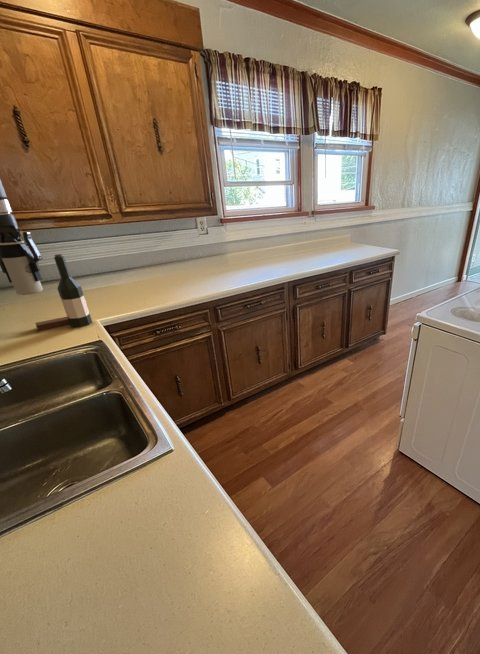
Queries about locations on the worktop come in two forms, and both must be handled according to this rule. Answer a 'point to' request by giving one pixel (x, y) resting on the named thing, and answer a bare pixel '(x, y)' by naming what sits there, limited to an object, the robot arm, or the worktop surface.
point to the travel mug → (19, 268)
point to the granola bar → (52, 323)
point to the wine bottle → (72, 296)
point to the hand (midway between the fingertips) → (26, 281)
